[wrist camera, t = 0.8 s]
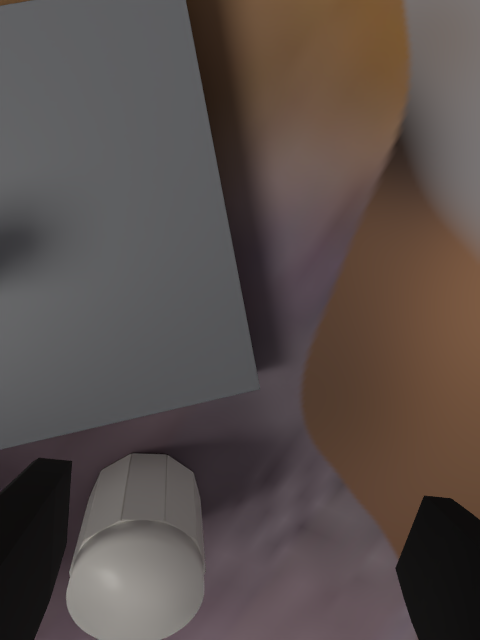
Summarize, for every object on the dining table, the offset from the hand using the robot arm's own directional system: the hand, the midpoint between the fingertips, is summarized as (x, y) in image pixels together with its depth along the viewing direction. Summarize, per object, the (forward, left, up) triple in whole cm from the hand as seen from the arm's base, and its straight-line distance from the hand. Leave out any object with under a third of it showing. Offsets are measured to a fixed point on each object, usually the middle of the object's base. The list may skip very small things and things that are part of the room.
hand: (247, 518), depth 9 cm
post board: (-9, +5, -10) cm, 14 cm away
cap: (-5, -7, -10) cm, 13 cm away
